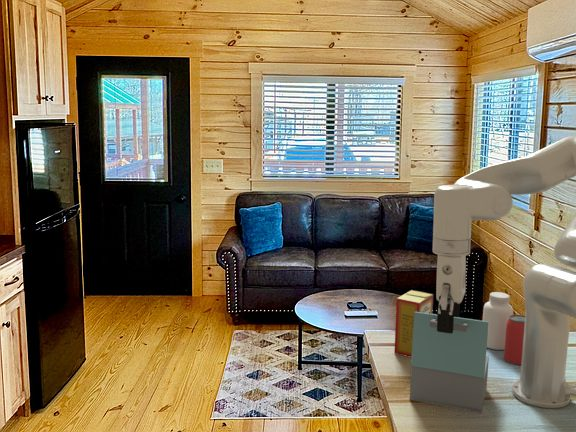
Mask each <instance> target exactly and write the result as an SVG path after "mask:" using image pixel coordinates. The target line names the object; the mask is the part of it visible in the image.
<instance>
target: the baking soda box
mask: <svg viewBox="0 0 576 432" xmlns="http://www.w3.org/2000/svg"><path fill="white" fill-rule="evenodd" d="M433 306H434V294H433V293H428V292H424V291H418V290H413V289H411V290H409V291H407V292H406V293H404V294H402V295H400V296H398V297H397V298H396V309H395V331H394V333H395V334H394V354H397V353H398V355H400V354H402V355H401V356H404V355H406V356H405V357H408V356H410V357H409V358H411V356H412V341H413V326H414V312H421V313H429V314H433V311H434V310H433V308H434V307H433Z"/></svg>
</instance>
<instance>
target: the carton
mask: <svg viewBox="0 0 576 432" xmlns="http://www.w3.org/2000/svg"><path fill="white" fill-rule="evenodd" d="M489 361H490V356H489V355H486V362H485V375H484V378H481V377H475V376H470V375H464V374H458V373H452V372H446V371H440V370H434V369H428V368H422V367H416V366H411V365H410V366H411V367H410V387H409V388H410V389H409V400H411V401H416V402H420V403H426V404H431V405H437V406H441V407H442V406H443V407H447V408H452V409H457V410H462V411H468V412H472V413H473V412H474V413H478V414H483V409H484V404H485V400H486V394H487V387H488V375H489Z"/></svg>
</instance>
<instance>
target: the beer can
mask: <svg viewBox="0 0 576 432" xmlns="http://www.w3.org/2000/svg"><path fill="white" fill-rule="evenodd" d="M524 327H525V314H513V315H511V316H509V319H508V321H507V324H506V336H505V349H504V351H503V352H504V353H503V359H504V360H505V362H507V363H509V364H513V365H517V366H521V362H522V350H523V338H524Z"/></svg>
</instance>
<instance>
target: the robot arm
mask: <svg viewBox="0 0 576 432" xmlns="http://www.w3.org/2000/svg"><path fill="white" fill-rule="evenodd" d="M574 177H576V135H575V134H574V135H570V136H566V137H564V138H561V139H560V140H558V141H555V142H553V143H551V144H549V145H547V146H545V147H543V148H541V149H539V150H536V151H535V152H532V153H530V154H528V155H526V156H524V157H520V158H519V157H518V158H515V159H514V158H513V159H510V160H507V161H504V162H500V163H499V162H498V163H496V164H492V165H488V166H485V167H481V168H479V169H477V170H475V171H473V172H470V173H469V174H466V175H464V176H462V177H461V178H459V179H458V180H456V181H455V182H454V183H453V184H446V185H445V184H444V185H440V186H438V187H437V188H436V189H435V191H434V197H433V227H432V232H433V233H432V253H433V254H435V255H437V263H436V265H437V266H436V283H435V284H436V288H435V289H436V291H435V292H436V293H435V295H436V297H435V298H436V301H438V308H437V309H438V310H437V313H436V315H437V331H438V332H443V333H453V326H454V317H458V318H460V310H461V309H460V307H461V303H462V302H463V299H464V296H465V294H466V274H467V272H466V267H467V265H466V263H467V262H466V261H467V258H466V256H468V255H470V254H471V242H472V241H471V239H472V221H490V222H491V221H498V220H500V219H502V218H504V217H506V216H508V214H509V213H510V212H511V210H512V207H513V196H514V195H520V196H521V195H533V194H541V193H545V192H547V191H549V190H551V189H552V188H555V187H556V186H558V185H560V184H562V183H564V182H566V181H568V180H571V179H572V178H574ZM553 253H554V254H553V255H554V257H555V259H556V260H557V261H558V262H559V263H560V264H562V265H565V266H567V267H569V268H573V269H575V270H576V213H575V215H574V216H573V217H572V219H571V220H570V222H569V223H568V225H567V226H566V228H565V229H564V230H563V232H562V233H561V235H560V236H559V238H558V240H557V241H556V243H555V245H554V249H553ZM575 270H571V269H568V268H565V267H563V266H558V265H555V264H551V263H538V264H535V265H533V266H532V267H531V266H530V267H529V269H528V270H527V271H526V272H525V275H524V278H523V282H522V284H523V285H522V287H523V288H522V290H523V296H524V297H523V299H524V306H525V307H524V308H525V309H524V311H525V312H524V316H525V327H524V338H523V350H522V362H521V365H520V376H519V380H518V381H515V383H513V384H512V387H511V388H512V390H511V391H512V394H513V395H514V396H515V397H516V398H517V399H518V400H520V401H522V402H523V403H526V404H527V405H531V406H534V407H539V408H543V409H544V408H545V409H560V408H563V407H567V406H568V405H569V404H570V402H571V397H576V384H571V383H569V382H567V379H566V368H567V359H568V350H569V347H568V346H569V339H570V320H569V317H570V318H573V319H576V271H575ZM568 316H569V317H568Z"/></svg>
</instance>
